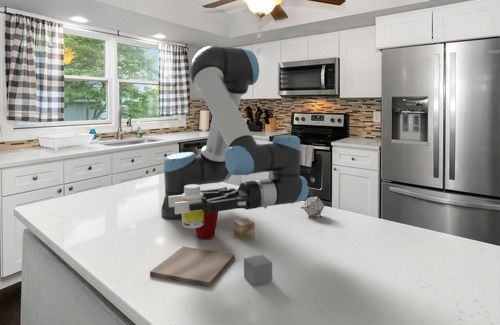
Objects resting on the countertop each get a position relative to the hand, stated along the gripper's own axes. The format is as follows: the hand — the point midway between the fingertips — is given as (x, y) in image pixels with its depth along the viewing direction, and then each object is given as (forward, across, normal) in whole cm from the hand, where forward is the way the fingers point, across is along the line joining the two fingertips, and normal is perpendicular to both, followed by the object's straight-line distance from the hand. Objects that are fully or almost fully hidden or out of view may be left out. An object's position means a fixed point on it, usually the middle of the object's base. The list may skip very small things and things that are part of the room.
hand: (172, 205), depth 83 cm
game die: (-58, +20, -18) cm, 63 cm away
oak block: (-26, +14, -17) cm, 34 cm away
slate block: (-17, -13, -18) cm, 28 cm away
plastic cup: (-14, +19, -18) cm, 30 cm away
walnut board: (-5, 0, -17) cm, 18 cm away
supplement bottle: (-5, 0, -6) cm, 8 cm away
